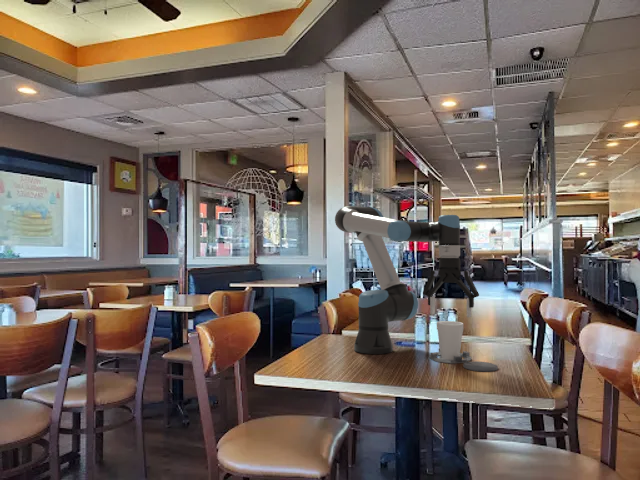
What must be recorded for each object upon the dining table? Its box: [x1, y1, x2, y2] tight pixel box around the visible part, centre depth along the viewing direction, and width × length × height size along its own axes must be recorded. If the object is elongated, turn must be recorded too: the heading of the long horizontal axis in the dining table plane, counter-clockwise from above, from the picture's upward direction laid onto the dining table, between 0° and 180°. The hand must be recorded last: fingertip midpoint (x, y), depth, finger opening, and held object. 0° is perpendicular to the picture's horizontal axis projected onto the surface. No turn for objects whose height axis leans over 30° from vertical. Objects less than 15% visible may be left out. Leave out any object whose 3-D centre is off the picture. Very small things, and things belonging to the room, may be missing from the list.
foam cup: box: [436, 320, 464, 360], centre depth 178 cm, size 10×9×13 cm
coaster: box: [462, 360, 499, 373], centre depth 164 cm, size 11×11×1 cm
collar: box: [428, 348, 472, 364], centre depth 178 cm, size 14×14×2 cm
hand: (450, 315), depth 178 cm, fingers open, 13 cm apart
